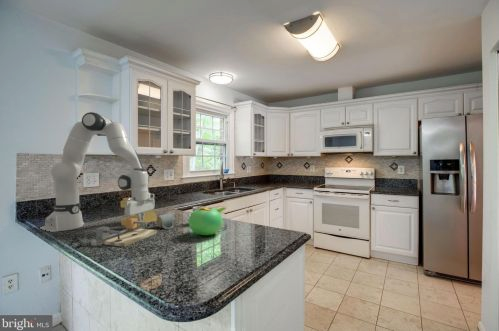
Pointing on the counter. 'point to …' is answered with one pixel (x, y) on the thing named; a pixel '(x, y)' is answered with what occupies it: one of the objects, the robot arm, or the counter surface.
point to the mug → (197, 208)
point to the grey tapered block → (107, 235)
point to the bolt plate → (130, 237)
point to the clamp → (148, 215)
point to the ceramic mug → (165, 221)
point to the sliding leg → (134, 223)
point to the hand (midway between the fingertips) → (140, 220)
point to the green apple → (206, 220)
